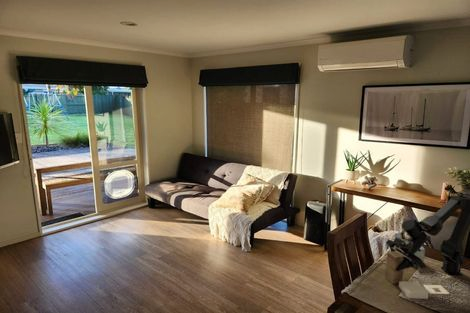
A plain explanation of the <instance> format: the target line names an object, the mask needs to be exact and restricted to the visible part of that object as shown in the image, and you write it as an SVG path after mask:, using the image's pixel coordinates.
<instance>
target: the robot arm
mask: <svg viewBox="0 0 470 313" xmlns="http://www.w3.org/2000/svg"><path fill="white" fill-rule="evenodd" d="M458 210H460V212H459V215H458V218H457V220H456V223H455V224H454V226H453V230H452V232H451V235H450V237H449V238H448V239H443V240H442V242H441V245H440V246H439V247H440V252H441V256H442V257H444V259H443V262H442V266H440V268H441V270H443V271H444V272H445V273H446V274H448V275H449V276H463V272H461V271H462V266H464V265H466V263H467V258H466V257H465V256H464V255H463V254H464V245H463V242H464V240H465V237H466V235H467V232H468V229H469V227H470V193H464V194H457V195H452V196H451V197H450V199H449V200H448V201H447V202H446V203H445V204H444V205H443V206H441V208H439V209H438V211H436V212H435V213H434V214H433V215H430V216H426V217H425V218H424V219H422V220H420V221H418V220H416V219H415V218H414V217H413V218H411V219H407V220H405V221H403V222H402V224H401V228H402V229H403V231H404V232H405V233H406V234H407V235H408V236H409V238H404V239H402V238H400V237H397V236H395V237H394V239H393V240H391V239H388V240H387V241H386V242H385V244H386V245H387V246H388V248H389V250H390V252H393V251H398V252H399V253H401V254H402V255H404V260H403V261H402V263H401V264H400V265H399V266H398V267H397V268H396V271H400V270H403V269H404V270H405V269H409V268H419V269H421V271H422V270H424V269H425V267H426V263H425V261H424V262H423V261H422V260H421V259H420V258H419V257H417V256H416V255H414V254H415V253H416V252H417V251H419V252H420V251H421V250H420V248H421V247H423V246H424V245H425V243H432V240H431V239H432V238H431V236H433V237H435V236H437V235H438V234H440V232H441V231H442V229H443V227H444V226H443V225H444V224H445V222H446V221H448V220H449V218H451V217H452V216H453V215H454V214H455V213H456V212H457V211H458ZM405 256H406V257H405ZM404 270H403V271H404Z"/></svg>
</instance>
